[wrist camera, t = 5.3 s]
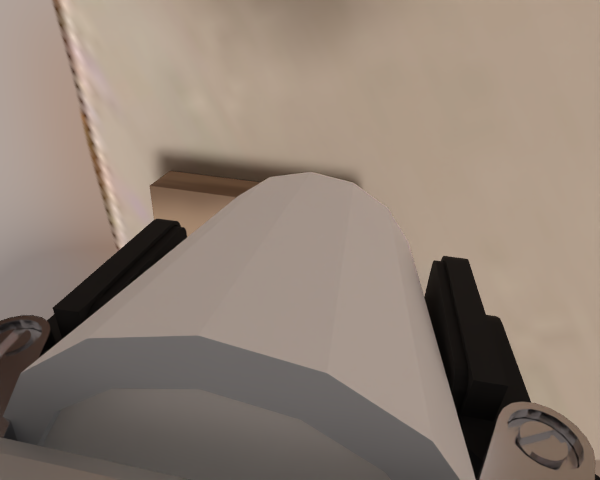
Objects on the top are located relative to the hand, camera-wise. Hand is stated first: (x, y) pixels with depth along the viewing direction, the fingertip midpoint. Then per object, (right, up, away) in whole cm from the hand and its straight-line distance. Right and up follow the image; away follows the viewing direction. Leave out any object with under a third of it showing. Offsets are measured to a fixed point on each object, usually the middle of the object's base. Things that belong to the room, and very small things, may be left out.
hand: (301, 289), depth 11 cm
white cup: (0, +1, +1) cm, 1 cm away
